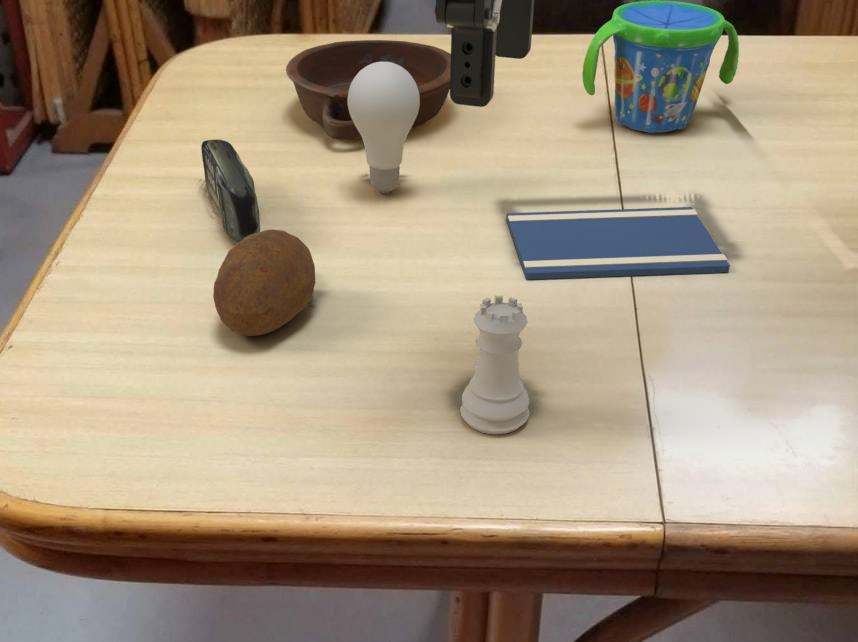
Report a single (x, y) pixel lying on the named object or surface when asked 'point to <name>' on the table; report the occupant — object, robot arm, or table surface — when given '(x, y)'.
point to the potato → (264, 282)
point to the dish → (341, 61)
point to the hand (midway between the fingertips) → (492, 78)
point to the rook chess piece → (497, 370)
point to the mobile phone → (231, 188)
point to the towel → (614, 243)
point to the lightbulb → (383, 118)
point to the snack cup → (661, 61)
